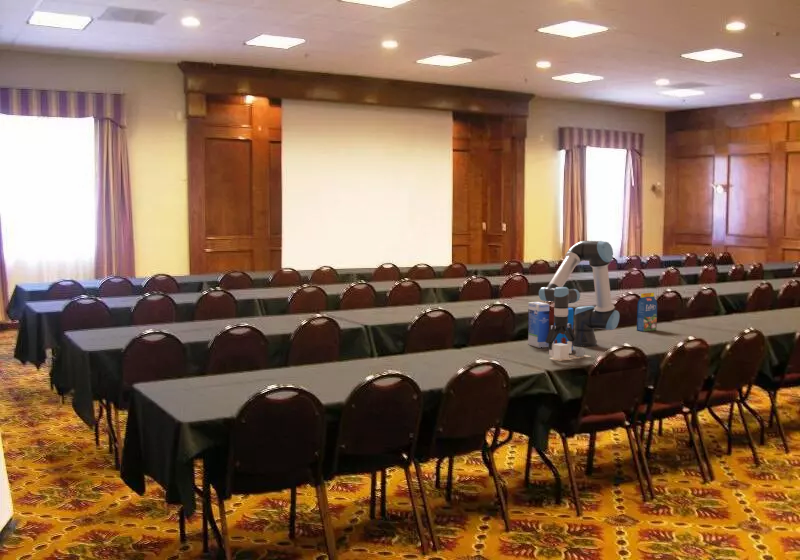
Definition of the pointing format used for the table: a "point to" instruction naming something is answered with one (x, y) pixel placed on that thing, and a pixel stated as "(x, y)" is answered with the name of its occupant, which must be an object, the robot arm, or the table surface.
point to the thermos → (561, 336)
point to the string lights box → (538, 324)
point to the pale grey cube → (580, 352)
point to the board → (572, 357)
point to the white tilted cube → (561, 351)
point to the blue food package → (647, 312)
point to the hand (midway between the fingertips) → (560, 354)
